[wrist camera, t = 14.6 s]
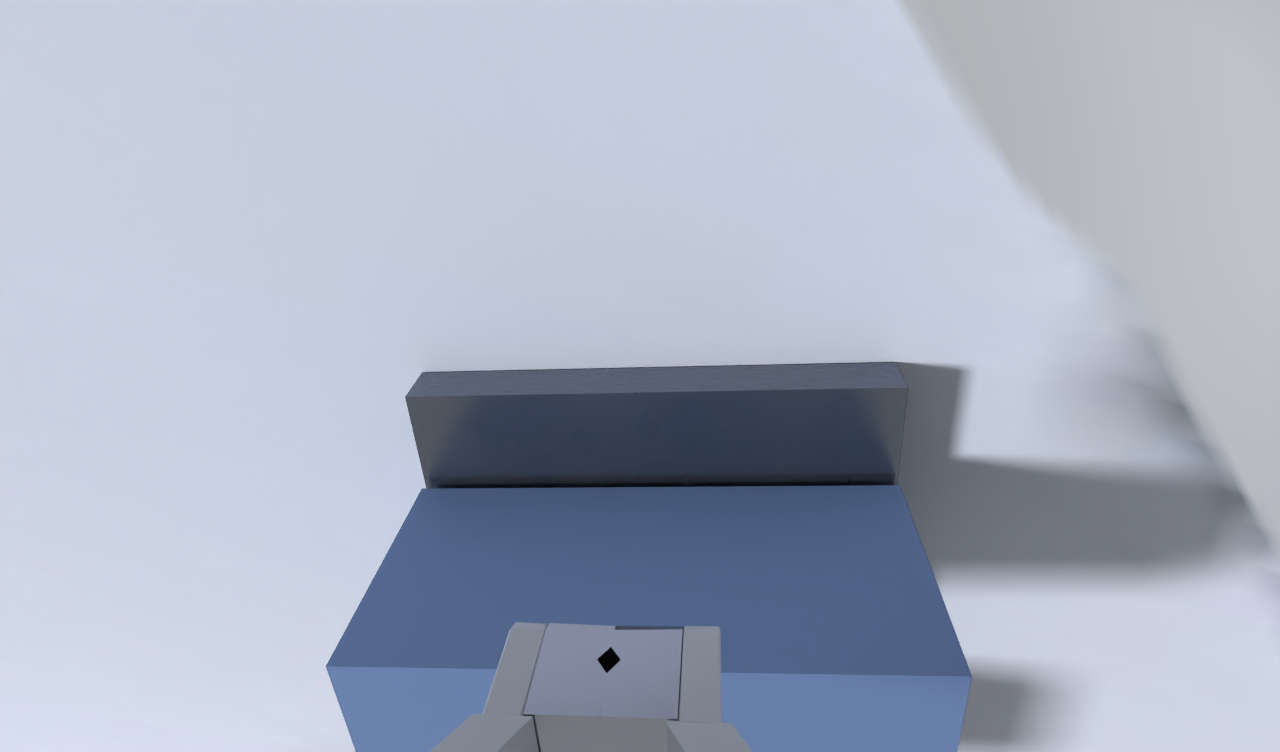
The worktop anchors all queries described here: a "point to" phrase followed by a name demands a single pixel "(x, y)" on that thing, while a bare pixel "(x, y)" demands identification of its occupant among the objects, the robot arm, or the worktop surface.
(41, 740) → the worktop surface
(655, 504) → the sliding jaw
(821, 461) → the base
